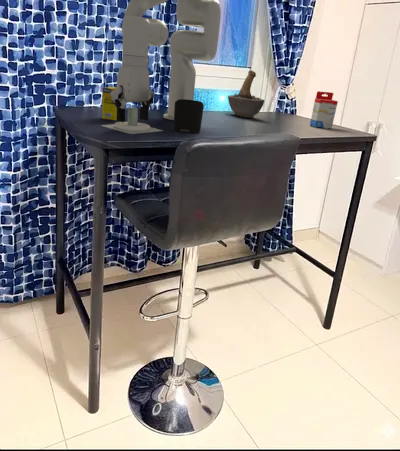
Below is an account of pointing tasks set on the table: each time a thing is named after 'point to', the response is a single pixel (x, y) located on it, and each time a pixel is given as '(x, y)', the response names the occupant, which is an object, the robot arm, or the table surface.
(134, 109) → the lid
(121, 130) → the mat
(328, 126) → the ink box
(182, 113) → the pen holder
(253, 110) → the mortar and pestle
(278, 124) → the table surface
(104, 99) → the supplement box
